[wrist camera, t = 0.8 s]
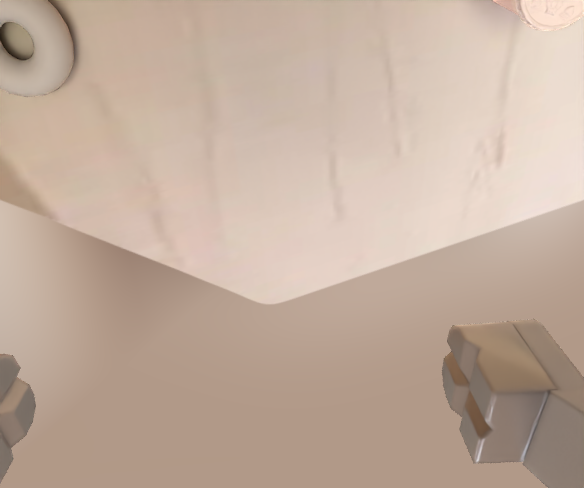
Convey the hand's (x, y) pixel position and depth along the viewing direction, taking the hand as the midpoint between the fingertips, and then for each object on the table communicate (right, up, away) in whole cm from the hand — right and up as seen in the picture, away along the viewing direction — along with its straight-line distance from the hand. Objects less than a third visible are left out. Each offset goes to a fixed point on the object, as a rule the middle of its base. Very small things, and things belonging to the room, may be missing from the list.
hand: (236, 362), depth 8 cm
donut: (-25, +22, +34) cm, 48 cm away
